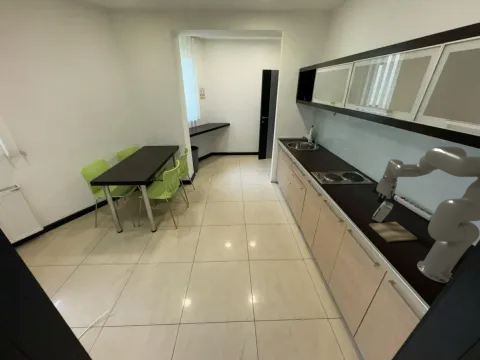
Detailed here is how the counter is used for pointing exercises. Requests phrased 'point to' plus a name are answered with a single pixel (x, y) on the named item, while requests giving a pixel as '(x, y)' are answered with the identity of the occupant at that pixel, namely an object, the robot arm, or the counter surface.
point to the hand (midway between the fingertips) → (380, 202)
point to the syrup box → (382, 211)
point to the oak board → (392, 231)
